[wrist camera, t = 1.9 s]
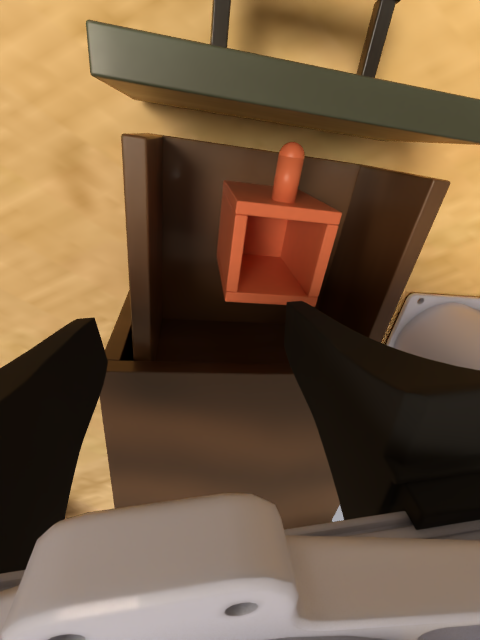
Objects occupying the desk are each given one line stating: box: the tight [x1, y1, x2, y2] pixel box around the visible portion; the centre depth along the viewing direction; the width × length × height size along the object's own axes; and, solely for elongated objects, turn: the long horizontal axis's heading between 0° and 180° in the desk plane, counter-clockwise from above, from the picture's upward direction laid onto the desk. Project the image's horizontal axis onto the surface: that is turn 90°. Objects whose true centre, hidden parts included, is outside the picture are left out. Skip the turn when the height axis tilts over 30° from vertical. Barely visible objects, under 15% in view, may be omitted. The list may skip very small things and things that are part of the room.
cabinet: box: [100, 290, 340, 530], centre depth 22 cm, size 15×15×9 cm
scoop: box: [216, 142, 342, 307], centre depth 15 cm, size 6×4×6 cm
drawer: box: [86, 0, 480, 364], centre depth 15 cm, size 18×13×7 cm
